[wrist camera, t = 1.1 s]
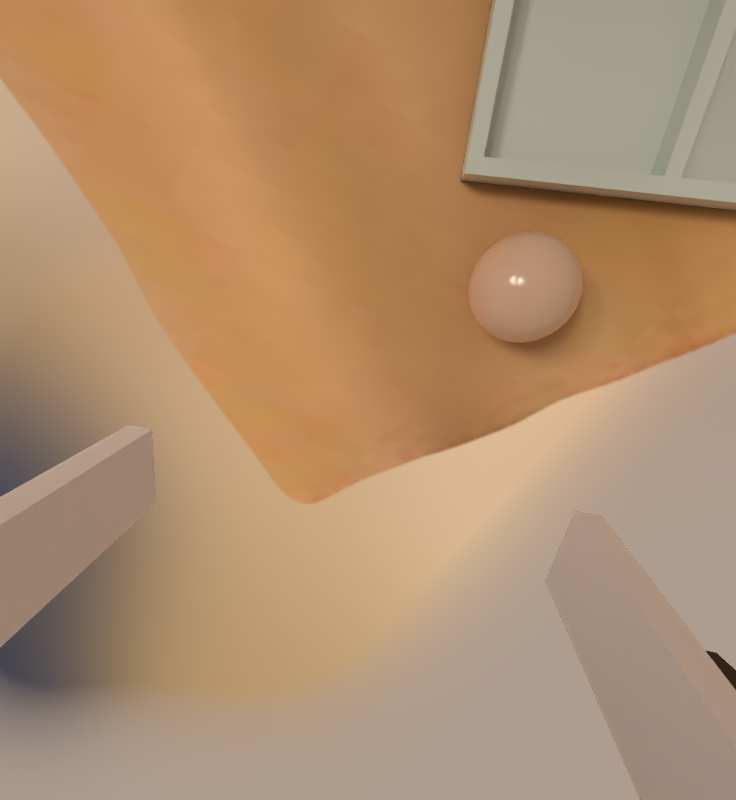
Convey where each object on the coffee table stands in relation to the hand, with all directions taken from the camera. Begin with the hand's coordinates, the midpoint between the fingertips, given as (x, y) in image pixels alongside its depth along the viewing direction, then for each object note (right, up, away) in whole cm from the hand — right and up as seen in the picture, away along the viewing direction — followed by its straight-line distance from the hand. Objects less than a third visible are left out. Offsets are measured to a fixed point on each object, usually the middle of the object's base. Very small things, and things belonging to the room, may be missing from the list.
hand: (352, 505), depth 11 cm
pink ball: (+11, +12, +16) cm, 23 cm away
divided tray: (+20, +23, +11) cm, 32 cm away
